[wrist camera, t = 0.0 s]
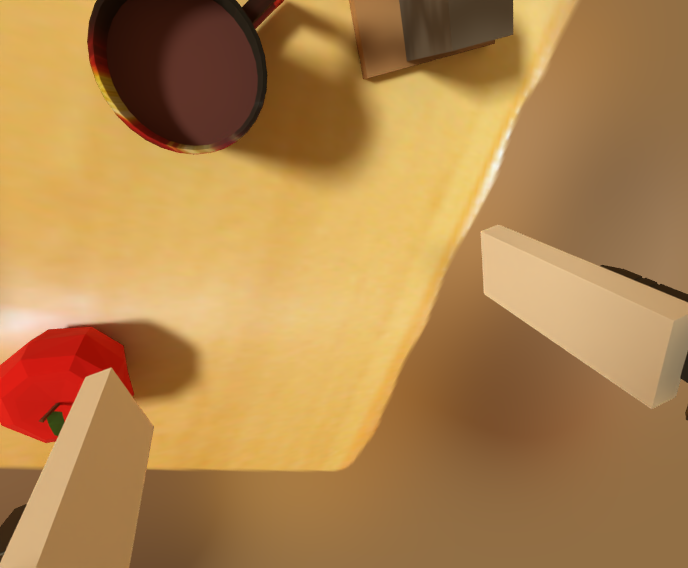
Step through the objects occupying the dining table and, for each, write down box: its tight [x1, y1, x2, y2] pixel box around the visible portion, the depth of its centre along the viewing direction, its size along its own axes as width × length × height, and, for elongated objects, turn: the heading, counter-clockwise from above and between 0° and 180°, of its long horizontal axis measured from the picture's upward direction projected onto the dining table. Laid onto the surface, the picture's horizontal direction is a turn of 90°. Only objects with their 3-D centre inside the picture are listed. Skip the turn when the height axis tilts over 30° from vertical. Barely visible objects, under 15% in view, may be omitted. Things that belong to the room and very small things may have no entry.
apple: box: [0, 327, 134, 443], centre depth 35 cm, size 11×11×10 cm
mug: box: [87, 0, 284, 154], centre depth 27 cm, size 10×14×12 cm
